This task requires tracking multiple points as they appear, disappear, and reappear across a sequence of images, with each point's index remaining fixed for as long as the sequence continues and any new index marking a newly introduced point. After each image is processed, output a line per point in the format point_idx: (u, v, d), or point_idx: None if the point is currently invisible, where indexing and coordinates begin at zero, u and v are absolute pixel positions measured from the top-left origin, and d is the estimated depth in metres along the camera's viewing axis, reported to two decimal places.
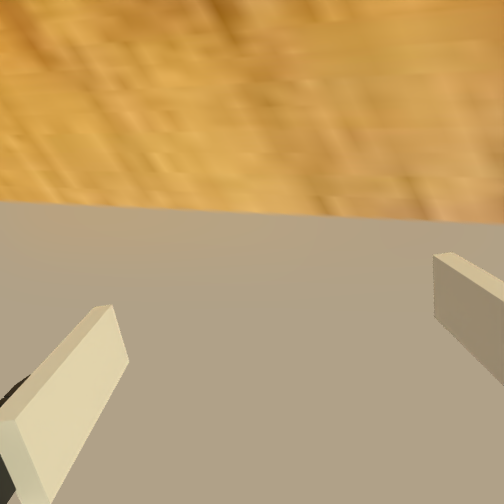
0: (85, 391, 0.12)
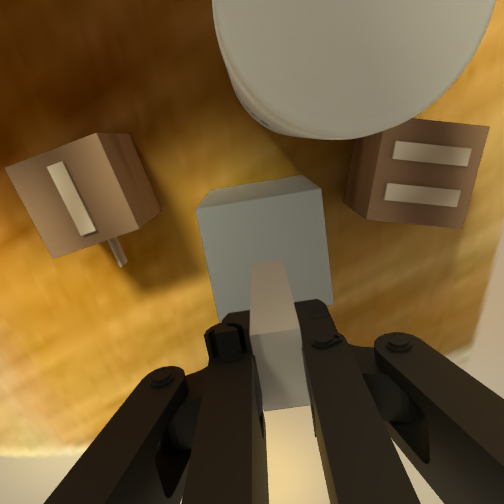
0: None
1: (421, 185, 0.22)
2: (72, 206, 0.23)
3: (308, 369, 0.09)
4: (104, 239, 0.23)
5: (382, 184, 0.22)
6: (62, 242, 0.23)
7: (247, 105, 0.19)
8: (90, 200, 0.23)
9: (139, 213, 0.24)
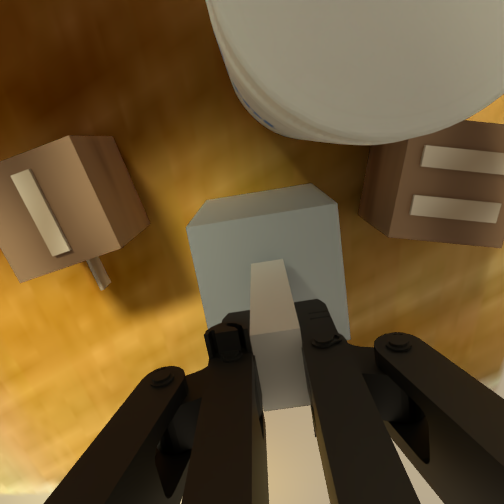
0: None
1: (454, 197, 0.19)
2: (41, 222, 0.19)
3: (308, 369, 0.09)
4: (80, 260, 0.20)
5: (407, 196, 0.19)
6: (31, 263, 0.20)
7: (248, 102, 0.15)
8: (62, 215, 0.19)
9: (122, 229, 0.21)
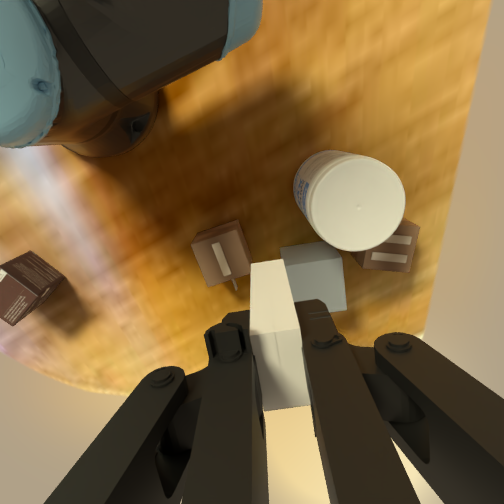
0: None
1: (389, 252, 0.47)
2: (221, 262, 0.47)
3: (308, 369, 0.09)
4: (234, 278, 0.48)
5: (370, 252, 0.47)
6: (213, 279, 0.48)
7: None
8: (229, 259, 0.47)
9: (250, 264, 0.49)
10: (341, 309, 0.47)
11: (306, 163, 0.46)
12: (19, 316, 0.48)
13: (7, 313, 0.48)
